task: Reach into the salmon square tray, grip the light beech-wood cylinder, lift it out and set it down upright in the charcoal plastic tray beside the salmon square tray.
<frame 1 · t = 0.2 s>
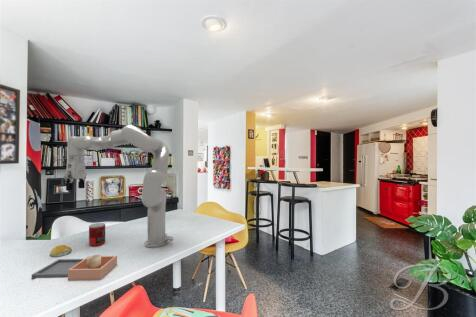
hand: (75, 189, 126), 31 cm above the table, tool pointing down, fingers open, 9 cm apart
canned food: (97, 244, 127), on the table
bread roll: (61, 254, 114), on the table
charcoal tray: (62, 270, 97), on the table
beech cylinder: (94, 271, 94), point 1 cm above the table, touching salmon square tray
salmon square tray: (94, 273, 94), on the table
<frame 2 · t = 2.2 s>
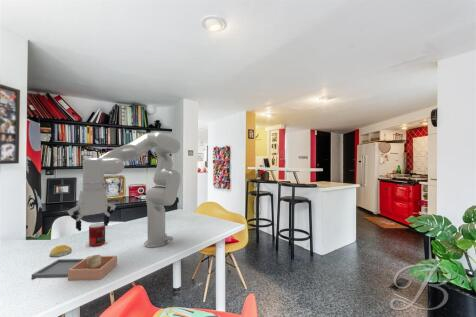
hand: (93, 227, 95), 19 cm above the table, tool pointing down, fingers open, 9 cm apart
nothing on the table moved.
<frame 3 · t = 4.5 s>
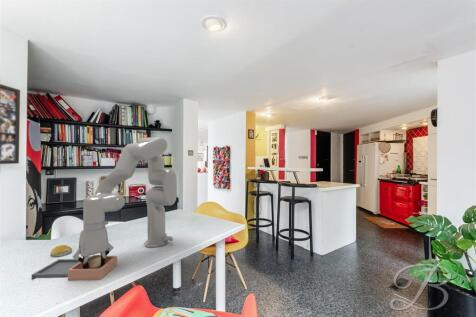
hand: (94, 269, 94), 2 cm above the table, tool pointing down, fingers closed on beech cylinder, 4 cm apart
beech cylinder: (94, 271, 94), point 1 cm above the table, touching gripper, salmon square tray
everything else where it was.
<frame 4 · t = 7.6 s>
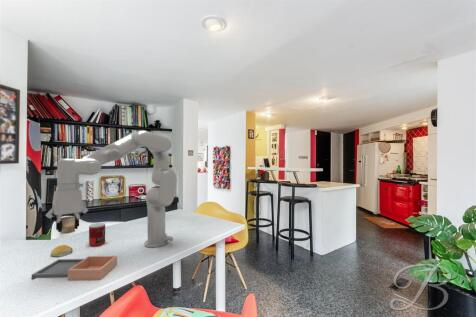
hand: (67, 229, 96), 18 cm above the table, tool pointing down, fingers closed on beech cylinder, 4 cm apart
beech cylinder: (67, 231, 96), point 17 cm above the table, touching gripper
everything else where it was.
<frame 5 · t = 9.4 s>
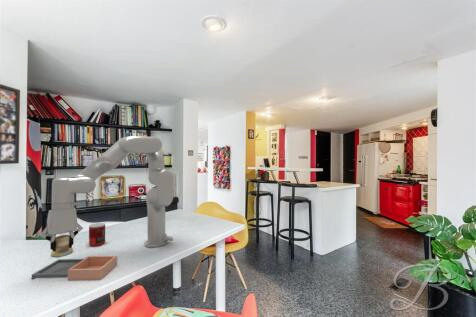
hand: (62, 248, 97), 9 cm above the table, tool pointing down, fingers closed on beech cylinder, 4 cm apart
beech cylinder: (62, 250, 97), point 8 cm above the table, touching gripper
everything else where it was.
when the fingers open (3 cm above the table, at t = 10.9 s): beech cylinder drops 2 cm, resting on charcoal tray.
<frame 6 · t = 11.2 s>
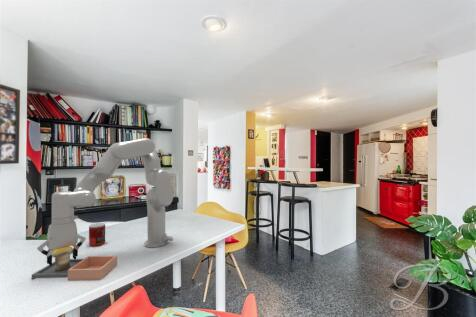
hand: (62, 261, 97), 4 cm above the table, tool pointing down, fingers open, 7 cm apart
beech cylinder: (62, 268, 97), point 1 cm above the table, touching charcoal tray
everything else where it was.
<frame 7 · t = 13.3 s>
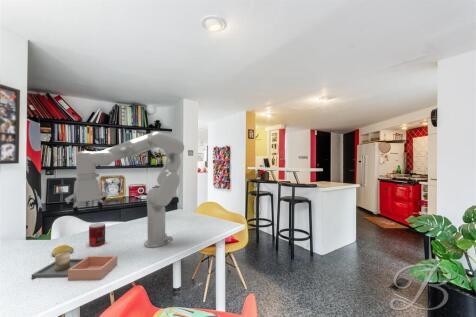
hand: (88, 213, 108), 22 cm above the table, tool pointing down, fingers open, 9 cm apart
nothing on the table moved.
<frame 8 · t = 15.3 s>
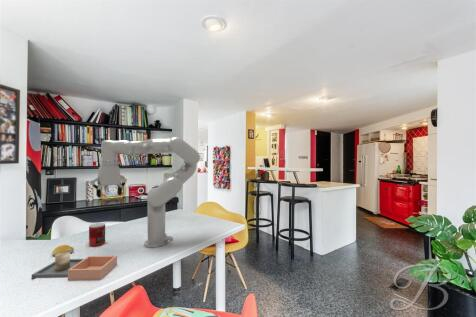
hand: (109, 196, 119), 28 cm above the table, tool pointing down, fingers open, 9 cm apart
at the end: beech cylinder inside the target area on the charcoal tray (0.1 cm from its centre), point 0.8 cm above the charcoal tray's base; beech cylinder tilted 0°; the gripper is holding nothing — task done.
